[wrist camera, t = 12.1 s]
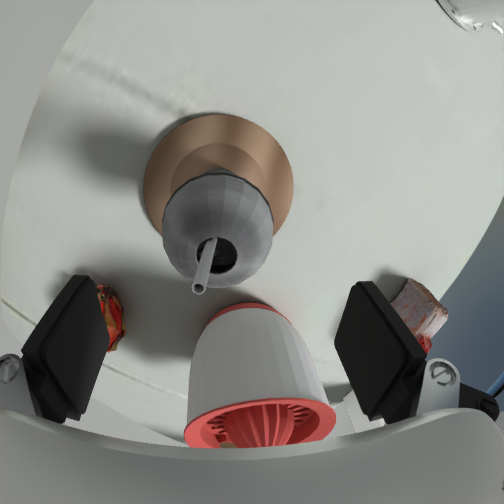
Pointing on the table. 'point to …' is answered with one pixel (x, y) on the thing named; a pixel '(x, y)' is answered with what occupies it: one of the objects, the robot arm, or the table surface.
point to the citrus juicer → (254, 383)
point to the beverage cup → (217, 229)
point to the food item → (420, 312)
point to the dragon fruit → (112, 315)
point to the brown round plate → (218, 162)
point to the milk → (359, 415)
